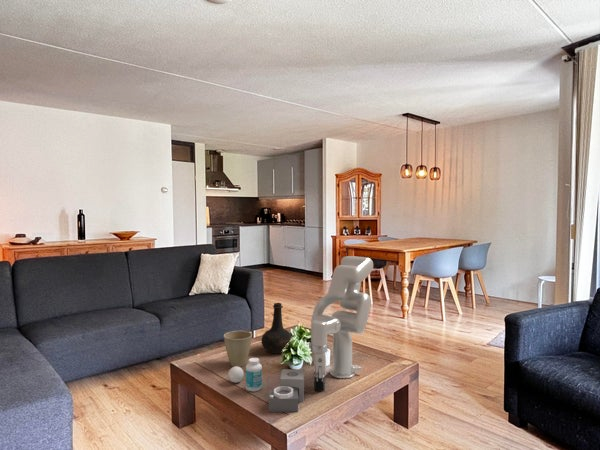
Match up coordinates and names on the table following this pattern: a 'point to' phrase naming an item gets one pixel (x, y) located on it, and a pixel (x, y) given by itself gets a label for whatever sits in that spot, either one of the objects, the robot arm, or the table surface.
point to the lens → (315, 383)
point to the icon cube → (293, 381)
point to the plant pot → (238, 346)
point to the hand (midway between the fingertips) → (319, 386)
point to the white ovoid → (236, 374)
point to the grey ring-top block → (283, 399)
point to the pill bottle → (253, 375)
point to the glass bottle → (276, 333)
